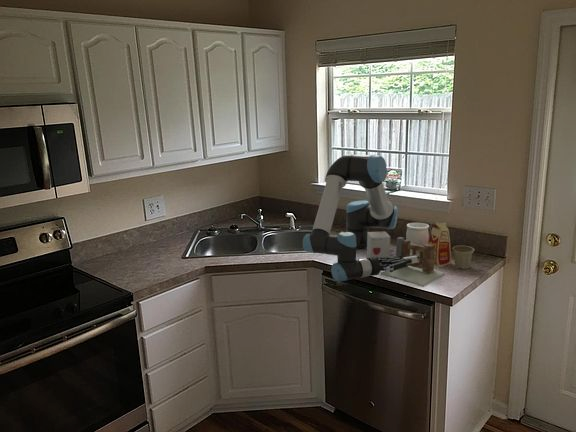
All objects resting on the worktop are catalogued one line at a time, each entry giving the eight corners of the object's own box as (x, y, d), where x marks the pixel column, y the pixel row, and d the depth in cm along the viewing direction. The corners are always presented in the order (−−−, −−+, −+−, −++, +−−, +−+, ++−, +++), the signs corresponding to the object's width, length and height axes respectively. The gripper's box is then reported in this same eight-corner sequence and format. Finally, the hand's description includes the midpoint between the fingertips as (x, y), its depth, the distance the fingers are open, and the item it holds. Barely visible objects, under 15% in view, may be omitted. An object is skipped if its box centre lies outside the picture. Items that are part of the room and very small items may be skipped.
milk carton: (438, 267, 218) (440, 225, 213) (423, 261, 226) (425, 220, 221) (452, 263, 222) (455, 221, 217) (437, 257, 230) (439, 217, 225)
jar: (425, 251, 240) (427, 222, 236) (429, 257, 230) (431, 228, 226) (404, 250, 241) (405, 222, 237) (407, 257, 231) (408, 228, 227)
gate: (402, 266, 216) (402, 241, 213) (407, 263, 219) (408, 238, 216) (429, 273, 207) (431, 246, 204) (435, 270, 210) (436, 244, 207)
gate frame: (380, 274, 211) (380, 244, 208) (402, 263, 224) (403, 234, 220) (423, 286, 197) (424, 254, 193) (444, 274, 209) (446, 244, 206)
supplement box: (370, 268, 219) (370, 237, 215) (366, 261, 227) (366, 231, 224) (390, 267, 219) (390, 236, 215) (385, 261, 228) (385, 230, 224)
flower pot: (446, 266, 219) (448, 248, 216) (459, 261, 224) (460, 244, 222) (465, 272, 211) (466, 253, 209) (477, 266, 217) (478, 248, 215)
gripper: (360, 270, 205) (407, 262, 212) (375, 281, 193) (425, 272, 200) (360, 253, 203) (407, 246, 210) (376, 263, 191) (425, 255, 199)
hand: (416, 258), depth 205 cm, fingers closed
